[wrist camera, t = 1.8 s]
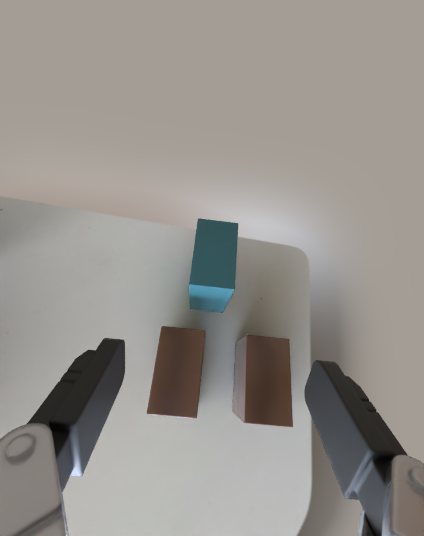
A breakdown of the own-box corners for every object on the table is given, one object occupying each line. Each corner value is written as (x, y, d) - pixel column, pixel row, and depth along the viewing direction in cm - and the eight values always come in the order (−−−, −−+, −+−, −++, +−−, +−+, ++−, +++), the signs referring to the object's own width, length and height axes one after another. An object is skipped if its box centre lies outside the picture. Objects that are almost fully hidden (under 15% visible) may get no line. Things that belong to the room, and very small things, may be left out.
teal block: (226, 260, 37) (238, 223, 27) (223, 312, 33) (235, 289, 24) (196, 257, 36) (198, 218, 27) (189, 309, 33) (189, 284, 24)
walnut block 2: (270, 345, 32) (289, 339, 26) (270, 415, 29) (293, 427, 22) (235, 342, 32) (246, 334, 26) (232, 411, 29) (244, 423, 22)
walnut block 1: (202, 338, 32) (205, 330, 25) (195, 408, 29) (197, 418, 22) (167, 335, 32) (161, 325, 25) (156, 405, 28) (146, 414, 22)
